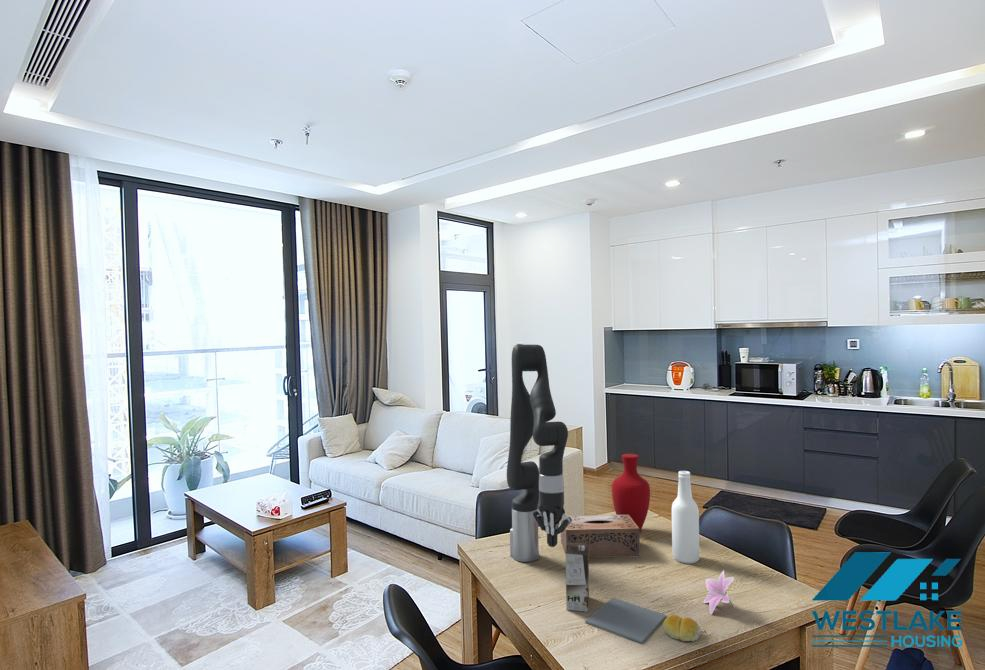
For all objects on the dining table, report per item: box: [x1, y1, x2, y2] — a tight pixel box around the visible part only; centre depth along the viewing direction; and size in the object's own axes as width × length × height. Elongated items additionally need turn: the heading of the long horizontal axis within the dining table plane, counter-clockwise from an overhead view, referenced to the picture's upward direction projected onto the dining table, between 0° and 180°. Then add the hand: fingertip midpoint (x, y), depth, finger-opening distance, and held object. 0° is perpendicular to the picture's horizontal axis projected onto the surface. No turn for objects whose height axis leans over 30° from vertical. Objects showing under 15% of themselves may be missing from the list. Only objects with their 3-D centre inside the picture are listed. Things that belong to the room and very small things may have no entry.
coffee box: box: [565, 542, 590, 613], centre depth 154 cm, size 9×6×16 cm
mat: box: [585, 597, 667, 645], centre depth 145 cm, size 16×16×1 cm
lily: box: [703, 570, 735, 615], centre depth 151 cm, size 12×12×10 cm
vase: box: [611, 453, 651, 532], centre depth 210 cm, size 15×15×30 cm
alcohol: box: [671, 470, 700, 565], centre depth 183 cm, size 9×9×30 cm
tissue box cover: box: [560, 514, 641, 558], centre depth 193 cm, size 26×14×10 cm, turn 90°
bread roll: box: [662, 614, 701, 642], centre depth 138 cm, size 8×9×4 cm
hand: (552, 546), depth 160 cm, fingers closed
